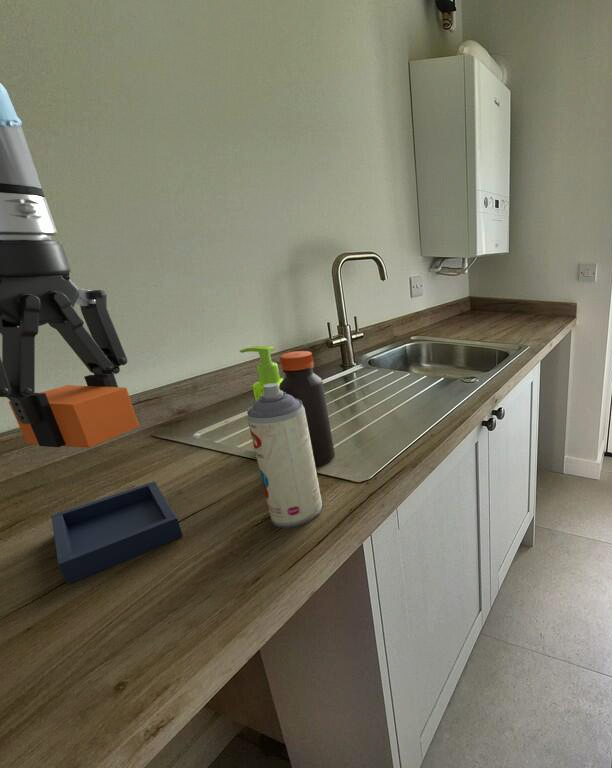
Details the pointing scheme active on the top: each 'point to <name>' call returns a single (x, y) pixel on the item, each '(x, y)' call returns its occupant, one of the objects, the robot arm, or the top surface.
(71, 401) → the block
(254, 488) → the top surface
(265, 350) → the soap dispenser
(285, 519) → the aerosol can
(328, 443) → the bottle
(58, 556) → the dark blue rectangular tray
